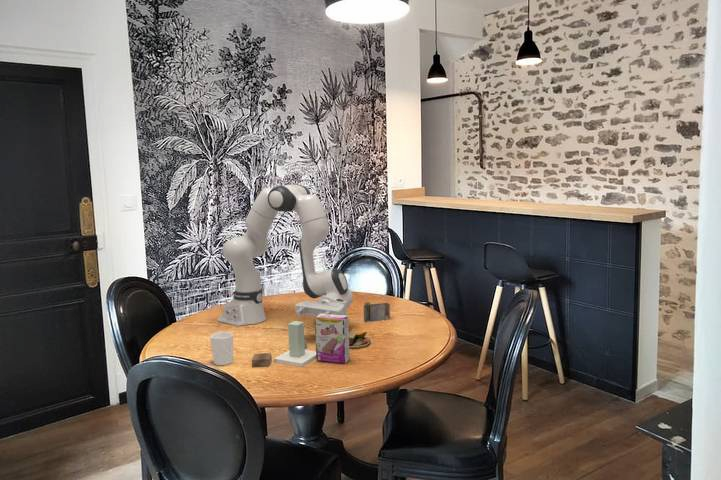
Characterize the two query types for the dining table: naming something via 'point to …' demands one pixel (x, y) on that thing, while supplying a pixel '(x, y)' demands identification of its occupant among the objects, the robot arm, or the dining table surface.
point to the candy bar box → (332, 338)
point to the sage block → (296, 339)
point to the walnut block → (261, 360)
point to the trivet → (295, 361)
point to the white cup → (222, 348)
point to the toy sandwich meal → (358, 340)
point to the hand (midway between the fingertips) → (309, 315)
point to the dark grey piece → (376, 311)
